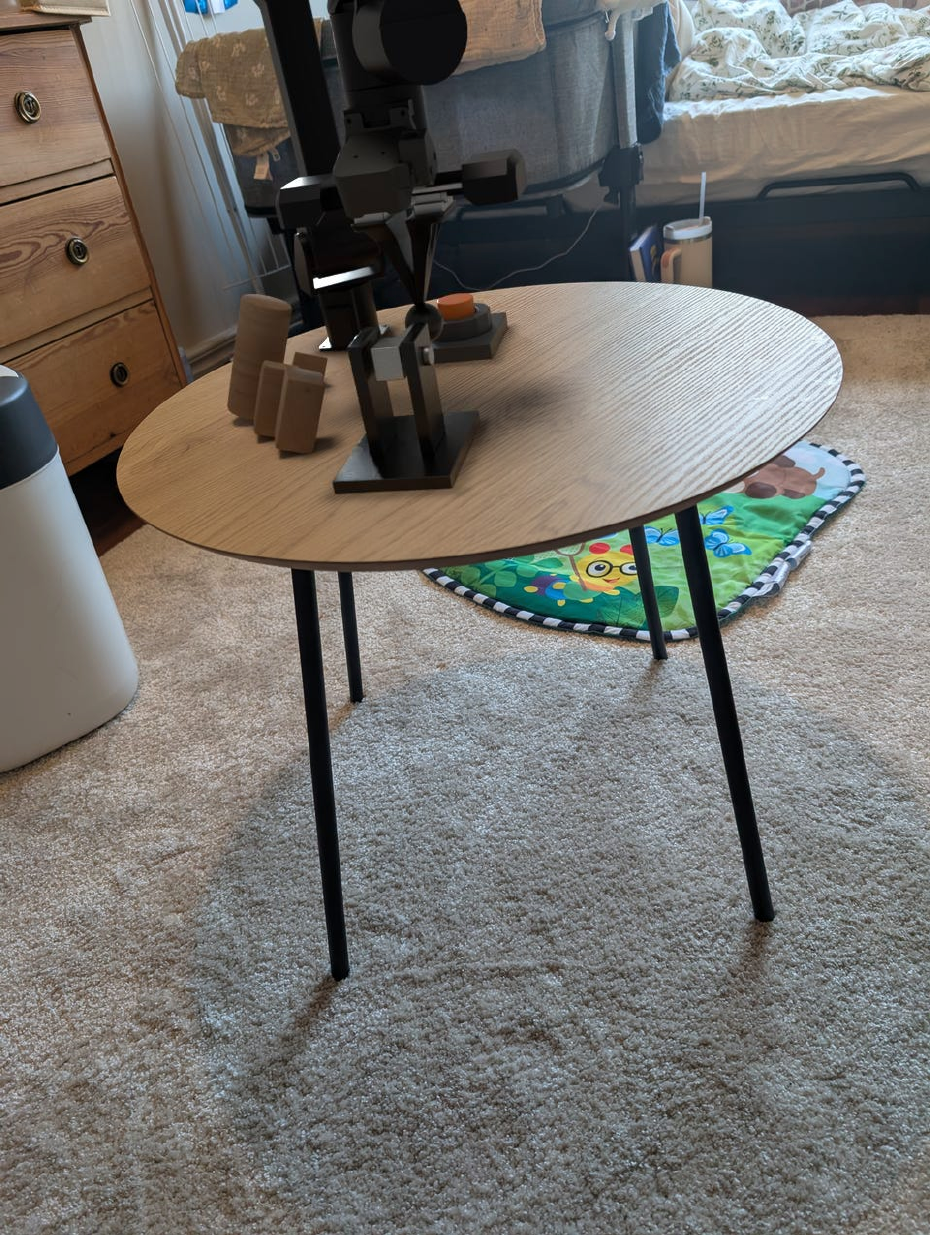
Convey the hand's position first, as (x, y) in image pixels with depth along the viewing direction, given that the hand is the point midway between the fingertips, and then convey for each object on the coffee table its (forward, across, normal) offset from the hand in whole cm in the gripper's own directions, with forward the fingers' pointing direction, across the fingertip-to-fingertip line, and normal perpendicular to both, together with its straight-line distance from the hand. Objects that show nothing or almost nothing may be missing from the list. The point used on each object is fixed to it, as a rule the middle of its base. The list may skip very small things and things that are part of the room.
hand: (420, 303), depth 73 cm
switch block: (+9, -1, +16) cm, 18 cm away
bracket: (+9, 0, -10) cm, 13 cm away
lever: (+3, 0, -5) cm, 6 cm away
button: (+6, -1, +16) cm, 17 cm away
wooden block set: (+9, -14, -1) cm, 17 cm away
